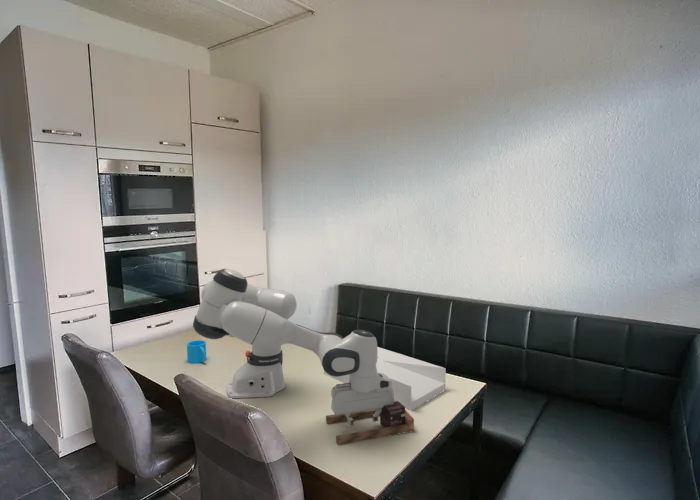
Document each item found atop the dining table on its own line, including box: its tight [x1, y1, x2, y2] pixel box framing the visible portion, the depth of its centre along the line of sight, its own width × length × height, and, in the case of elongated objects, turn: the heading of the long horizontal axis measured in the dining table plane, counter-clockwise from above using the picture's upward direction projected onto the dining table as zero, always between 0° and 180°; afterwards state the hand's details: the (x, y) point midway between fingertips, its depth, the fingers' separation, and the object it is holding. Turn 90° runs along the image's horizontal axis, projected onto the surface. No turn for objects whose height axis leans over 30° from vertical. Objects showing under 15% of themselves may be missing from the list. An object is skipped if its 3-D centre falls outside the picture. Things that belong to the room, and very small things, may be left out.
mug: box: [186, 339, 207, 365], centre depth 187 cm, size 12×8×8 cm
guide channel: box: [325, 409, 415, 446], centre depth 132 cm, size 25×14×4 cm, turn 107°
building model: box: [323, 346, 447, 411], centre depth 165 cm, size 45×22×10 cm, turn 46°
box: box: [379, 400, 406, 428], centre depth 132 cm, size 6×6×7 cm
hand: (362, 422), depth 131 cm, fingers open, 7 cm apart
